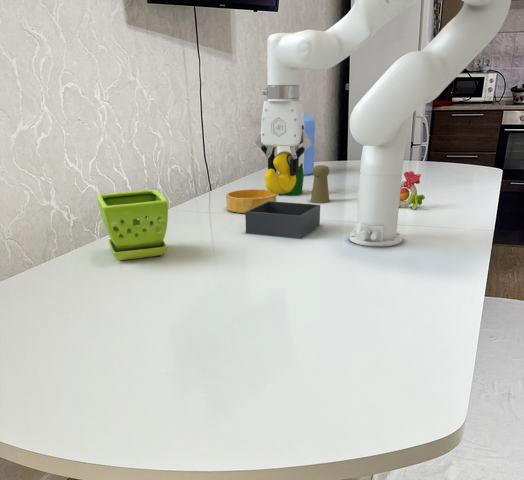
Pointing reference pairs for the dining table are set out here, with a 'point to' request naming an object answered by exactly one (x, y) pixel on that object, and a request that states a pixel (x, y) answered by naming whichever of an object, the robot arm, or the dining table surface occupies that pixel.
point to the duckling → (280, 175)
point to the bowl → (247, 199)
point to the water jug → (309, 152)
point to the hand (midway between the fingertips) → (283, 173)
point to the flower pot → (135, 223)
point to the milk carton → (300, 174)
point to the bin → (282, 219)
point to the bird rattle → (405, 193)
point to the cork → (320, 184)
